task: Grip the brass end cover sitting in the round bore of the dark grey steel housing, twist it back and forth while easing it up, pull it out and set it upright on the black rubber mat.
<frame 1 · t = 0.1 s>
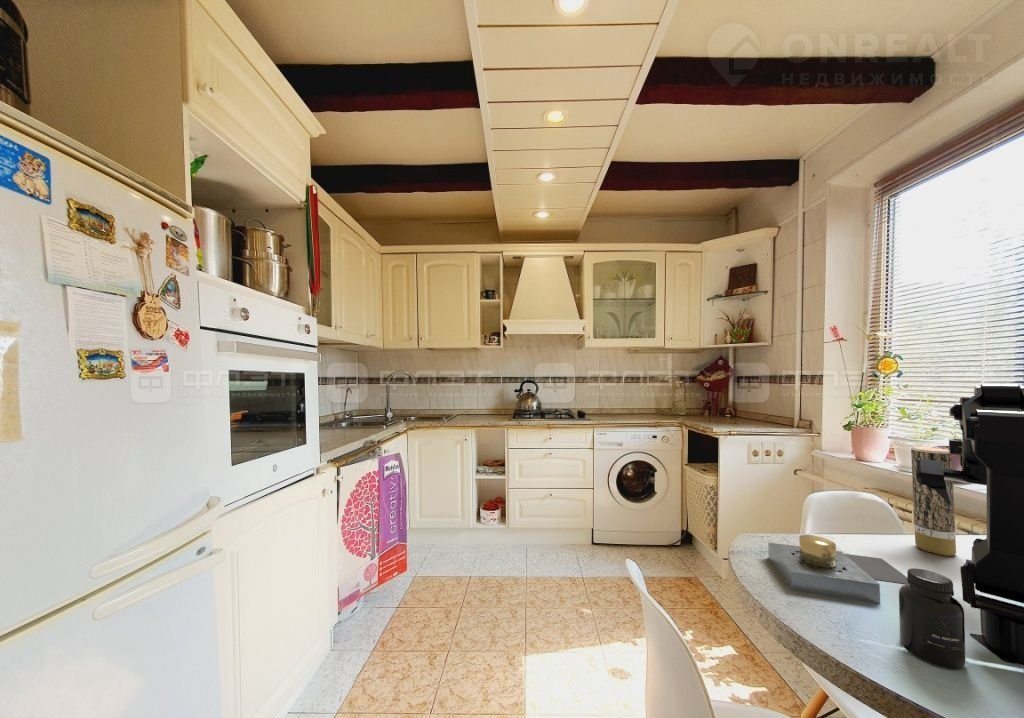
hand: (982, 508, 80), 15 cm above the table, tool tilted 35°, fingers open, 9 cm apart
rubber mat: (870, 569, 84), on the table
end cover: (818, 578, 79), resting on housing
supplement bottle: (932, 656, 58), on the table
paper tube: (935, 551, 93), on the table
housing: (818, 580, 79), on the table
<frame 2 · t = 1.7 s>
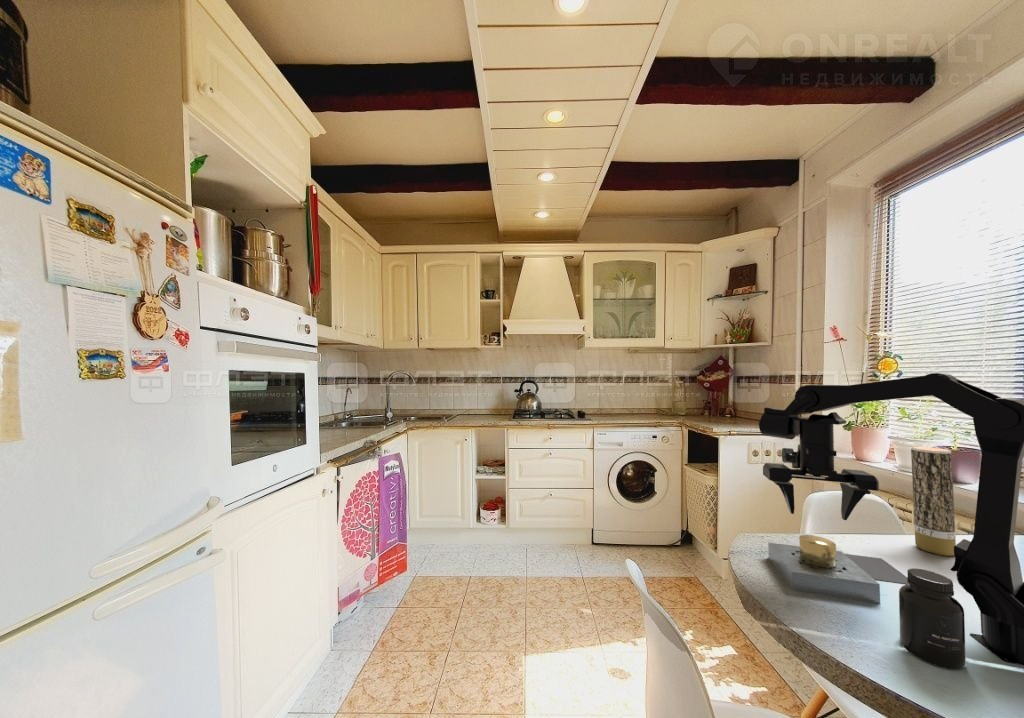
hand: (817, 516, 81), 13 cm above the table, tool pointing down, fingers open, 9 cm apart
nothing on the table moved.
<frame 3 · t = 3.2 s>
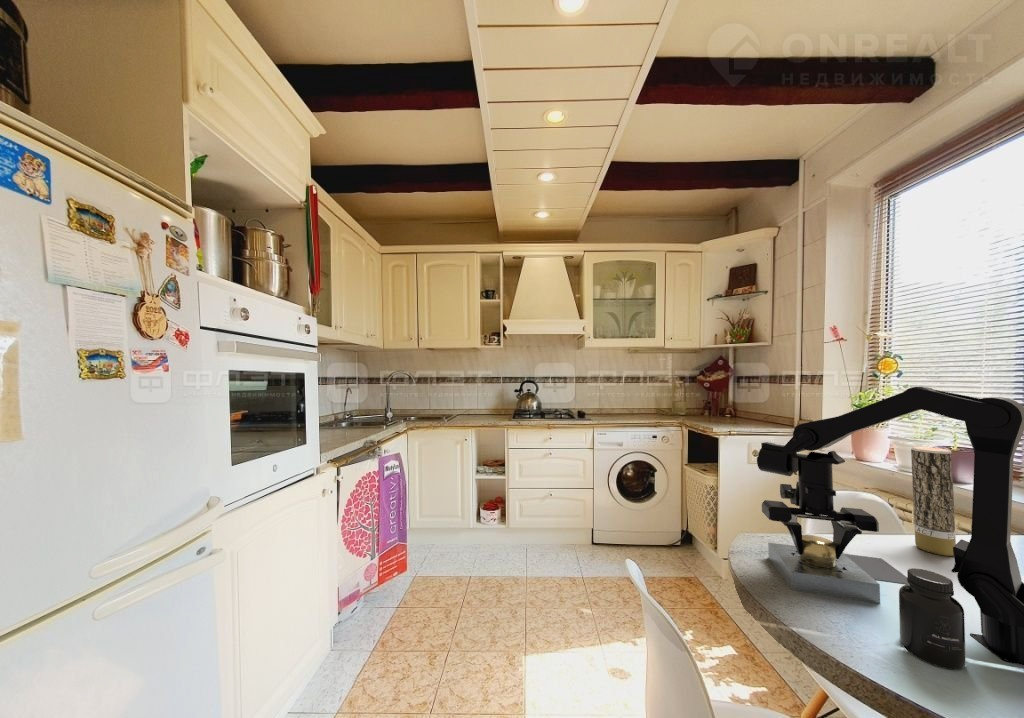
hand: (817, 556, 80), 5 cm above the table, tool pointing down, fingers closed on end cover, 6 cm apart
end cover: (818, 578, 79), resting on housing, touching gripper
everything else where it was.
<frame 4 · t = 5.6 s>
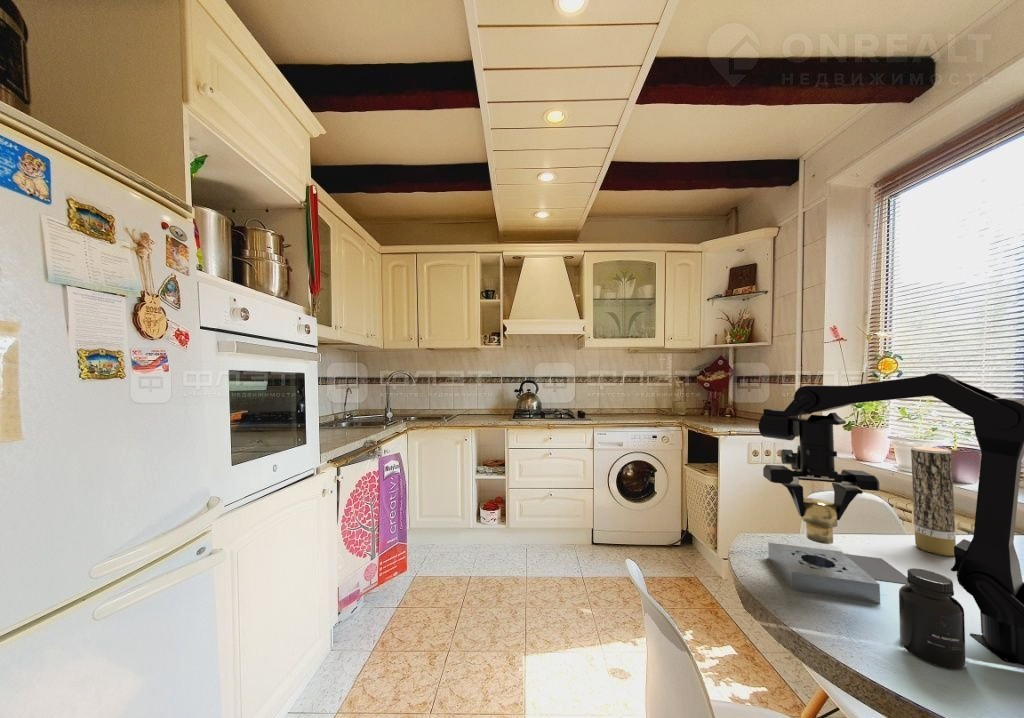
hand: (818, 517, 80), 13 cm above the table, tool pointing down, fingers closed on end cover, 6 cm apart
end cover: (819, 539, 80), point 8 cm above the table, touching gripper
everything else where it was.
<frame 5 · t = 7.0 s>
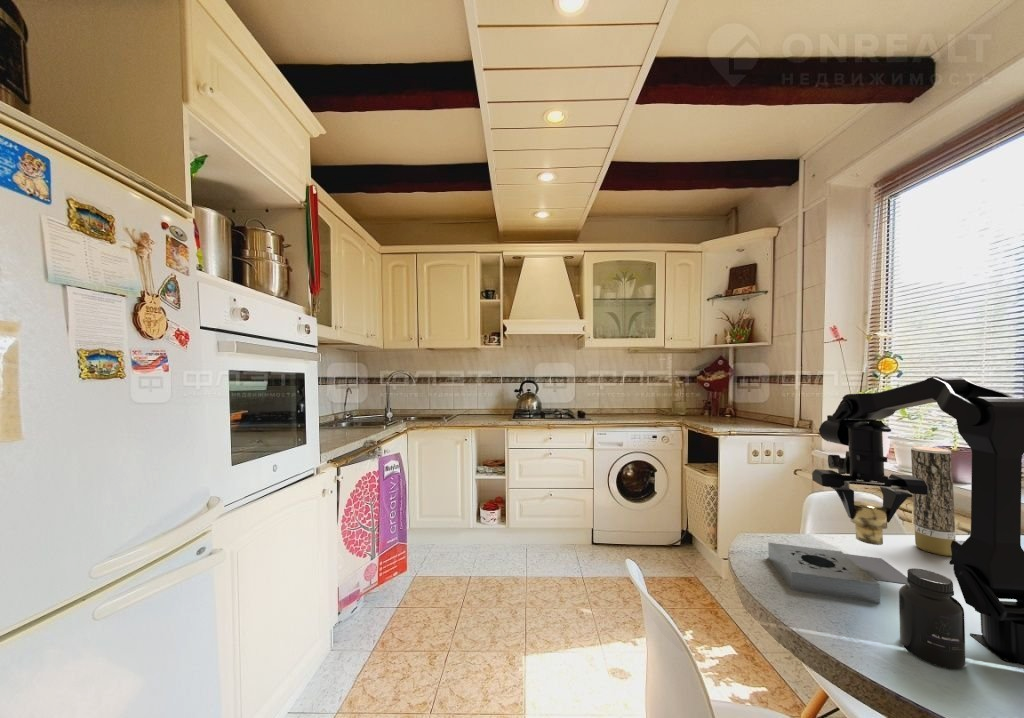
hand: (868, 520, 84), 11 cm above the table, tool pointing down, fingers closed on end cover, 6 cm apart
end cover: (869, 540, 84), point 6 cm above the table, touching gripper
everything else where it was.
when the fingers open (6 cm above the table, at t = 8.2 s): end cover drops 1 cm, resting on rubber mat.
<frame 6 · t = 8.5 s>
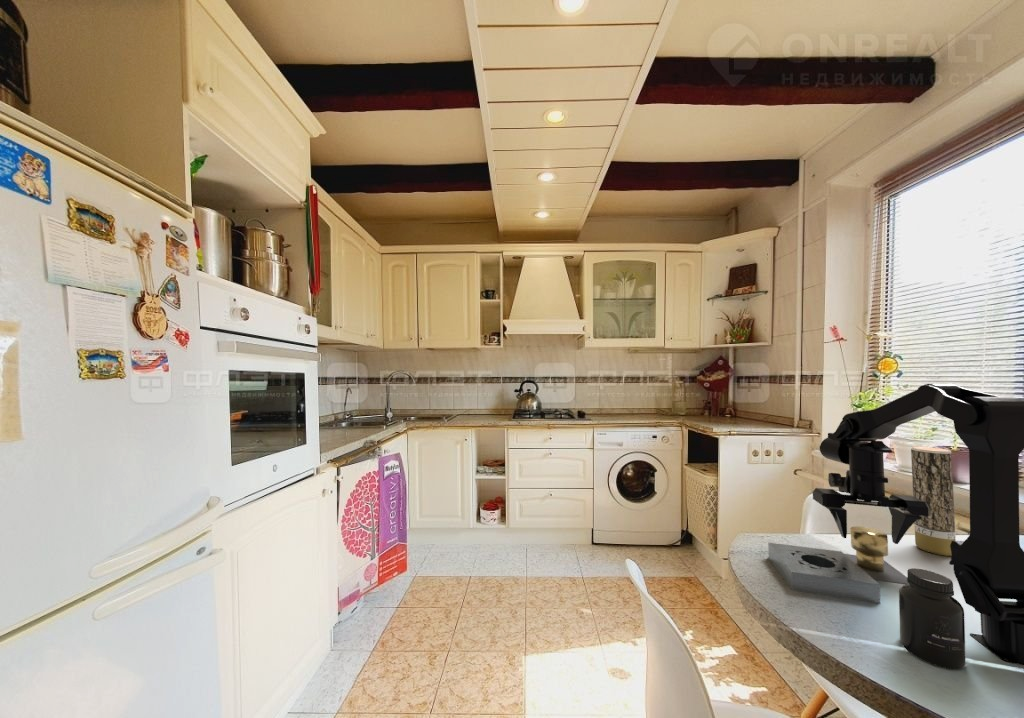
hand: (869, 540, 84), 6 cm above the table, tool pointing down, fingers open, 9 cm apart
end cover: (870, 567, 84), point 1 cm above the table, touching rubber mat
everything else where it was.
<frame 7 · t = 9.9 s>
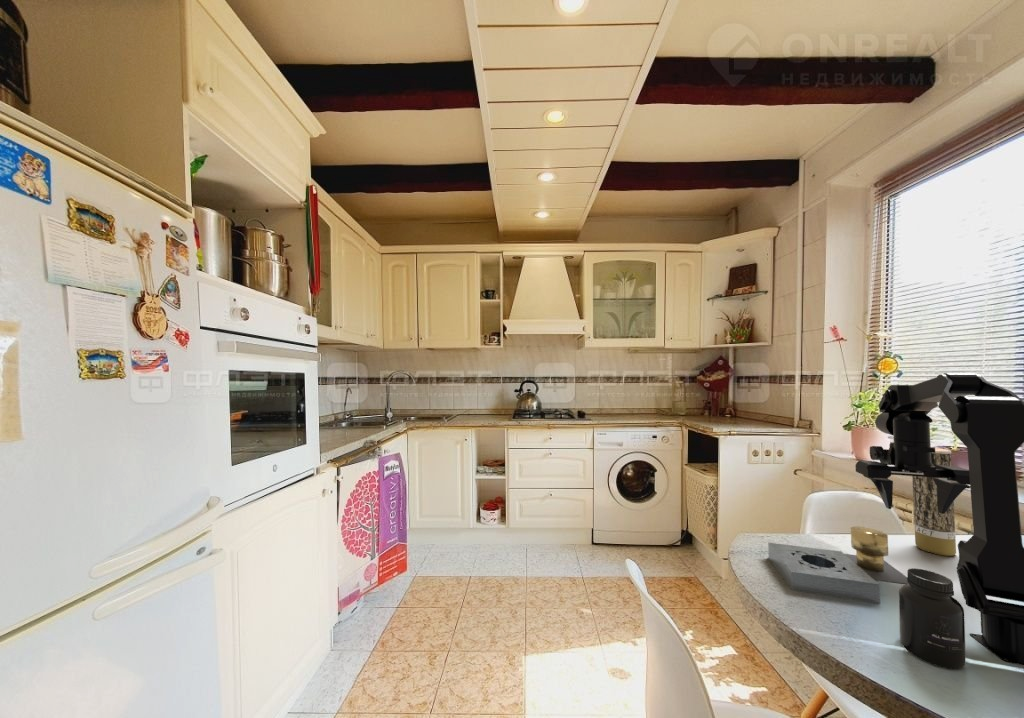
hand: (914, 510, 84), 13 cm above the table, tool pointing down, fingers open, 9 cm apart
nothing on the table moved.
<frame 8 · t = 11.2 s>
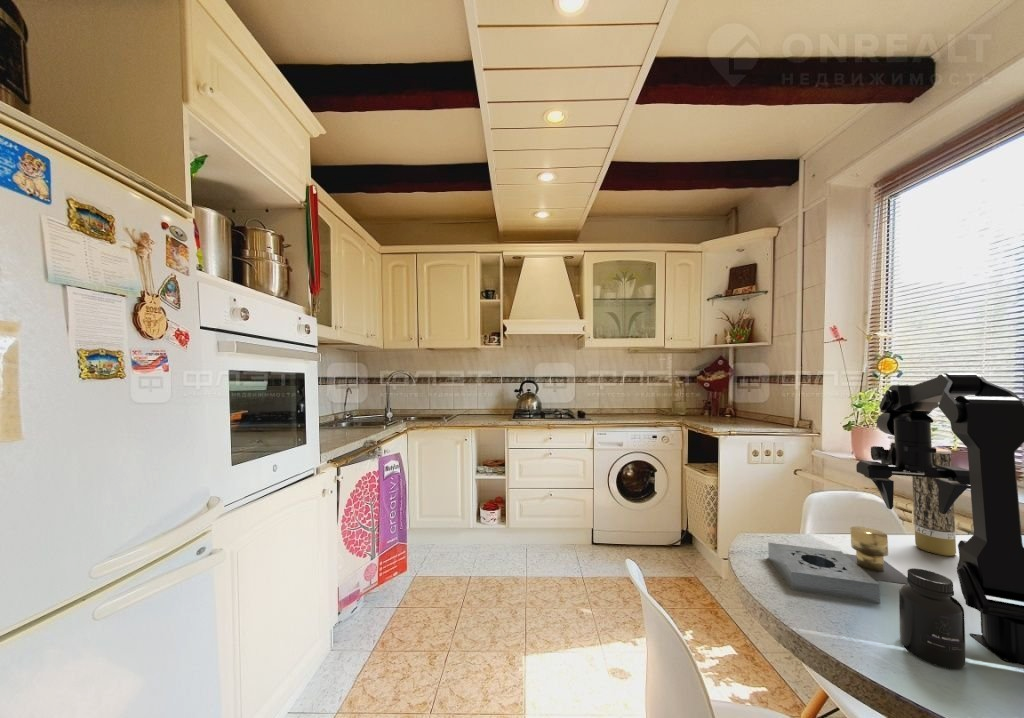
hand: (915, 511, 84), 13 cm above the table, tool pointing down, fingers open, 9 cm apart
nothing on the table moved.
at the end: end cover inside the target area on the rubber mat (0.0 cm from its centre), point 0.6 cm above the rubber mat's base; end cover tilted 0°; the gripper is holding nothing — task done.
